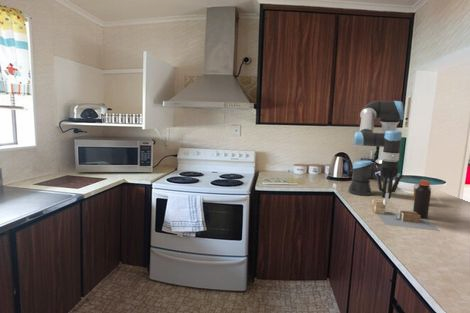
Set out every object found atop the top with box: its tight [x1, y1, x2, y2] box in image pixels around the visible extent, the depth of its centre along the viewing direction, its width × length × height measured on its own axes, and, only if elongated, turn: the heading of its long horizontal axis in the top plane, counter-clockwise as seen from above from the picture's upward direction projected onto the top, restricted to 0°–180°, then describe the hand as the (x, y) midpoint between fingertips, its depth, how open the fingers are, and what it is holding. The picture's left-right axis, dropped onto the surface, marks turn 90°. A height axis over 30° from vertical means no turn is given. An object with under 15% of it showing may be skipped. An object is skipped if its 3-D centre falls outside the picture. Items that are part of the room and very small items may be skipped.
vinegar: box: [412, 179, 432, 219], centre depth 148 cm, size 7×7×20 cm
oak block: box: [370, 198, 386, 215], centre depth 154 cm, size 5×5×7 cm
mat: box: [377, 211, 441, 232], centre depth 144 cm, size 22×24×1 cm
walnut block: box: [398, 209, 421, 223], centre depth 143 cm, size 6×4×8 cm
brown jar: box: [412, 183, 432, 201], centre depth 173 cm, size 10×10×12 cm
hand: (385, 204), depth 146 cm, fingers closed
